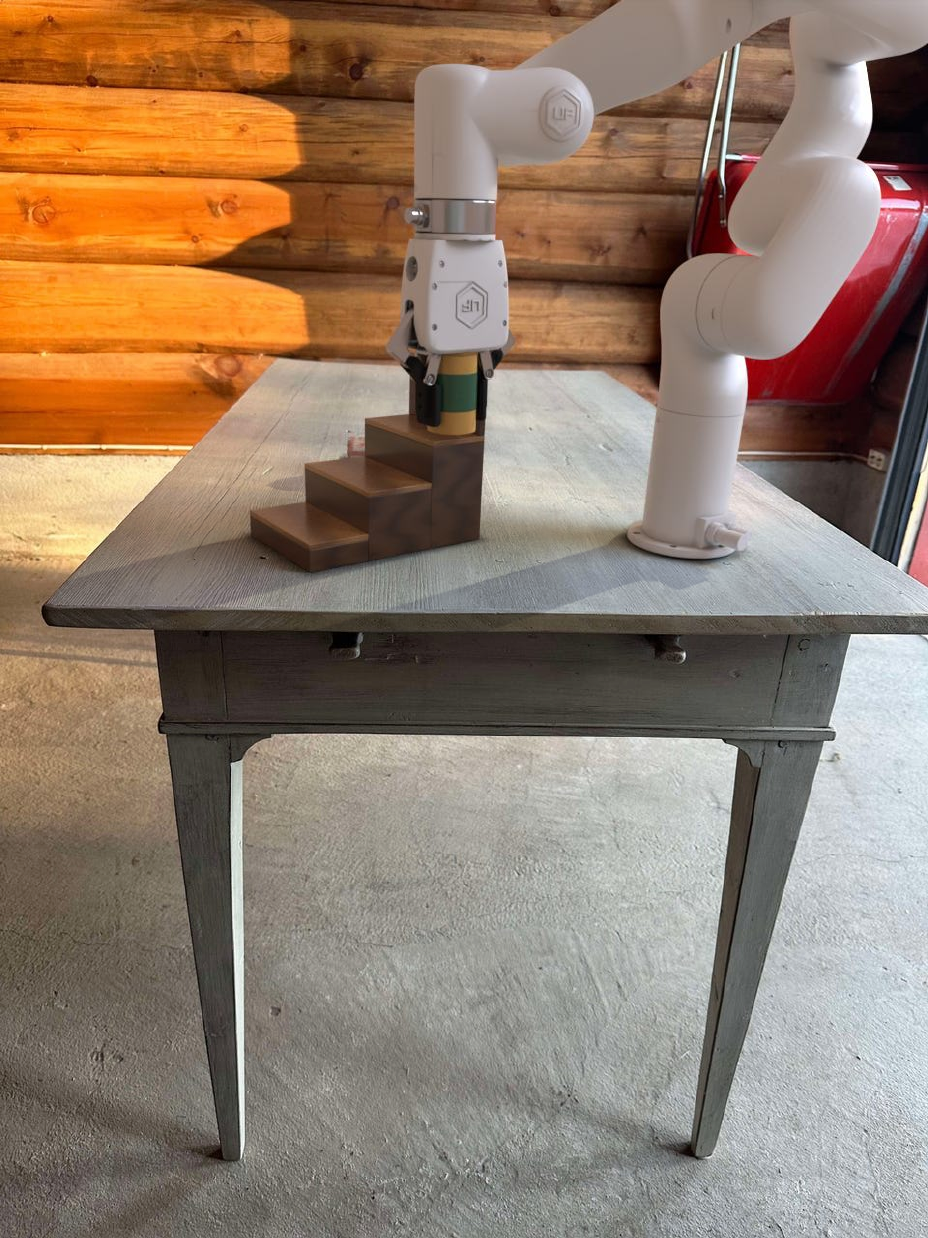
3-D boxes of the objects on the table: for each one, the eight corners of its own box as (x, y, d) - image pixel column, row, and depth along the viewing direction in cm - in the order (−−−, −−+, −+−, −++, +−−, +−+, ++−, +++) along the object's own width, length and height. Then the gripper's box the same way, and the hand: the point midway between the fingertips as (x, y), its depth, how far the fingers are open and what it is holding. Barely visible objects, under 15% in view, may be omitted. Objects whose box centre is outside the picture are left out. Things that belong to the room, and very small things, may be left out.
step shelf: (309, 572, 93) (305, 383, 85) (250, 535, 103) (241, 362, 96) (479, 538, 105) (488, 370, 98) (411, 508, 116) (415, 353, 108)
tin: (486, 431, 91) (489, 348, 88) (445, 437, 88) (447, 352, 85) (456, 422, 94) (458, 342, 91) (416, 428, 92) (416, 345, 88)
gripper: (399, 221, 76) (400, 438, 83) (551, 224, 86) (540, 419, 93) (353, 220, 82) (358, 423, 89) (501, 223, 91) (494, 407, 98)
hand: (451, 419), depth 91 cm, fingers closed on tin, 5 cm apart
